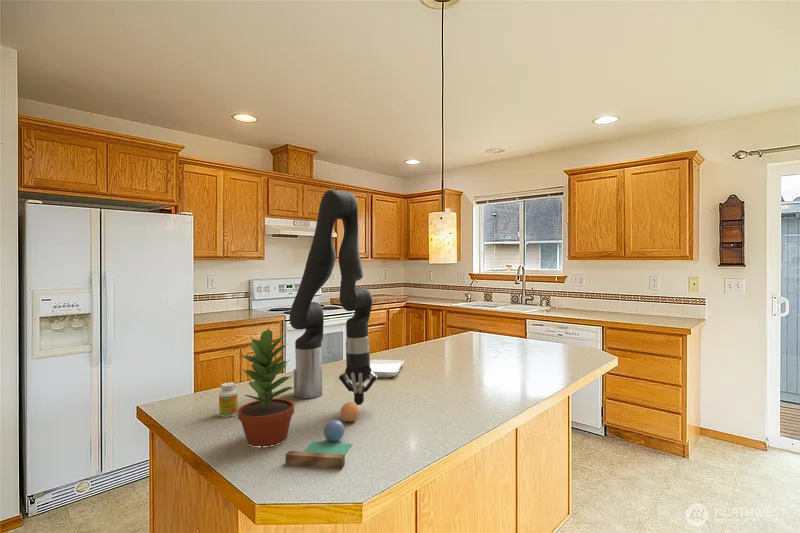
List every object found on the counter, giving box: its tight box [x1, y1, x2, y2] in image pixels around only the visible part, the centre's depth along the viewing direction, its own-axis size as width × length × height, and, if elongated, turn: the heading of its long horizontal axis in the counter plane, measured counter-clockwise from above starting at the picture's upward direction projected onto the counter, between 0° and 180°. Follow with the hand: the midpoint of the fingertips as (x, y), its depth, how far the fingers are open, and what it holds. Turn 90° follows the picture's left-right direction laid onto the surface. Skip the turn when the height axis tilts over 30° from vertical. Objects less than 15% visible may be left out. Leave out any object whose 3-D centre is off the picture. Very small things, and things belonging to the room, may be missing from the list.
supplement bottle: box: [218, 381, 239, 418], centre depth 135 cm, size 5×5×10 cm
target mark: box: [302, 440, 353, 456], centre depth 107 cm, size 11×11×1 cm
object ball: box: [323, 419, 345, 443], centre depth 114 cm, size 6×6×6 cm
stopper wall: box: [284, 450, 346, 470], centre depth 101 cm, size 14×2×2 cm, turn 79°
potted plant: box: [237, 326, 296, 447], centre depth 115 cm, size 15×15×30 cm
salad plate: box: [368, 359, 405, 378], centre depth 183 cm, size 21×21×3 cm
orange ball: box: [339, 401, 360, 423], centre depth 128 cm, size 6×6×6 cm
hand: (359, 404), depth 137 cm, fingers closed
